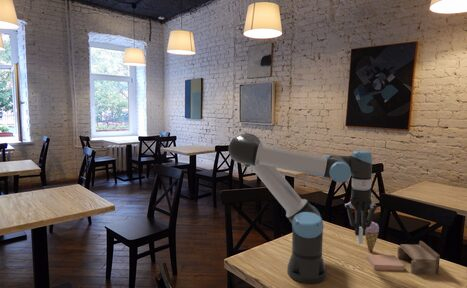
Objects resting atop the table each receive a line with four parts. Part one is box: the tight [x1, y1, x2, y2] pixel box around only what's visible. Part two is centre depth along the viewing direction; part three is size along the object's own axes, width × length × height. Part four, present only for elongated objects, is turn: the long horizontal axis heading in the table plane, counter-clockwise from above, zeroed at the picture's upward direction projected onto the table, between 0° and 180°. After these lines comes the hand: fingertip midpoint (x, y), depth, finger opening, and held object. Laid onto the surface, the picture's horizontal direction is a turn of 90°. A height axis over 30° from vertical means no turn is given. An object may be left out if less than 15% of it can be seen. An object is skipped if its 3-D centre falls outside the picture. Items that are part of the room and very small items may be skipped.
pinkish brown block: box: [365, 254, 406, 271], centre depth 129 cm, size 12×9×2 cm
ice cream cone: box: [364, 221, 380, 253], centre depth 141 cm, size 7×6×15 cm
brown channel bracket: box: [396, 240, 441, 276], centre depth 128 cm, size 10×13×8 cm
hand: (359, 242), depth 129 cm, fingers closed
